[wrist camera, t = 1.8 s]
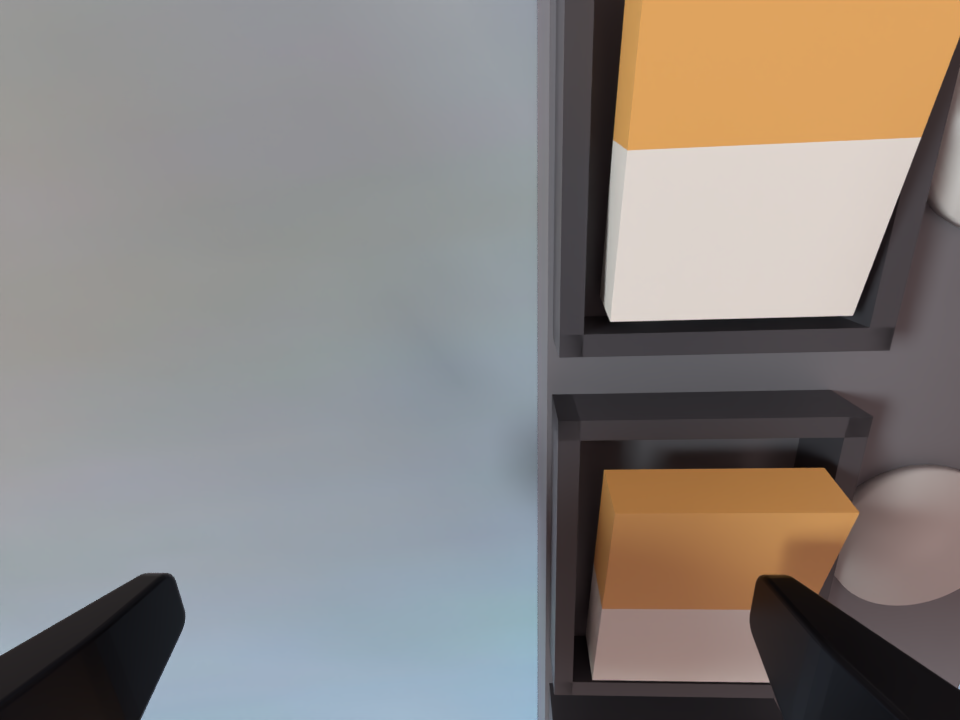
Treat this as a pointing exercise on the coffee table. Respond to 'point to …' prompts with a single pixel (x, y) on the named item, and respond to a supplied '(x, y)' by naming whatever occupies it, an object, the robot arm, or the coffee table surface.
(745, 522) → the rocker middle
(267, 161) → the coffee table surface
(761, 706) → the power strip
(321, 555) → the coffee table surface
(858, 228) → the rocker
